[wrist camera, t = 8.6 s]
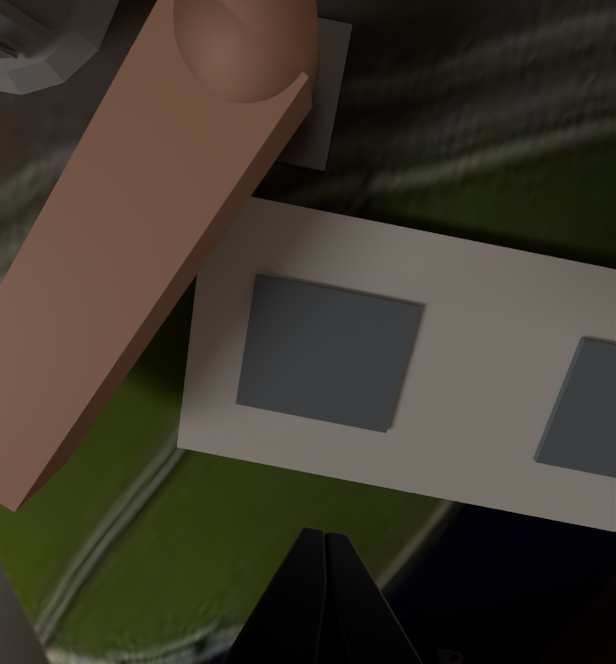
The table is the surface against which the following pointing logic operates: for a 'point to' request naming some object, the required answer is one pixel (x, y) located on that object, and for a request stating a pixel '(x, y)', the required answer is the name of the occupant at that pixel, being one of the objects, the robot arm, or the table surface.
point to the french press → (48, 40)
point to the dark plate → (321, 101)
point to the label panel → (406, 363)
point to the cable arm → (142, 213)
